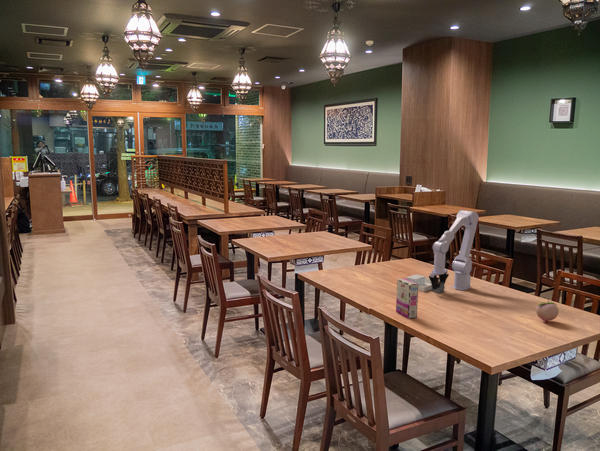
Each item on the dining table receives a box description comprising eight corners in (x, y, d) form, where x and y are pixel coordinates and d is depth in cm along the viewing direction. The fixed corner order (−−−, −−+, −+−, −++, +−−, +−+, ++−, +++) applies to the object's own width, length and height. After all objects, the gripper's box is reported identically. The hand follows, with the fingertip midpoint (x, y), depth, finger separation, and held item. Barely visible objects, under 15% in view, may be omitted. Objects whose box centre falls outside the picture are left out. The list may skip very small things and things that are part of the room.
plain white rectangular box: (415, 281, 282) (416, 274, 282) (424, 284, 278) (425, 276, 277) (406, 285, 276) (406, 277, 275) (414, 287, 271) (415, 279, 270)
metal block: (436, 291, 266) (437, 280, 265) (443, 292, 263) (444, 282, 262) (432, 292, 263) (432, 282, 262) (439, 294, 260) (440, 283, 259)
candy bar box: (417, 318, 223) (419, 283, 221) (408, 319, 221) (409, 284, 219) (404, 310, 233) (405, 277, 231) (395, 311, 232) (396, 278, 229)
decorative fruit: (545, 326, 213) (547, 304, 212) (531, 319, 221) (533, 298, 219) (562, 324, 216) (564, 302, 214) (548, 317, 224) (550, 297, 222)
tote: (417, 281, 286) (417, 276, 286) (441, 286, 275) (441, 281, 274) (399, 286, 274) (399, 281, 274) (424, 292, 262) (424, 287, 262)
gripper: (440, 260, 268) (438, 283, 270) (425, 264, 258) (424, 288, 260) (451, 262, 263) (450, 286, 265) (437, 266, 253) (436, 291, 255)
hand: (438, 287), depth 262 cm, fingers open, 7 cm apart
